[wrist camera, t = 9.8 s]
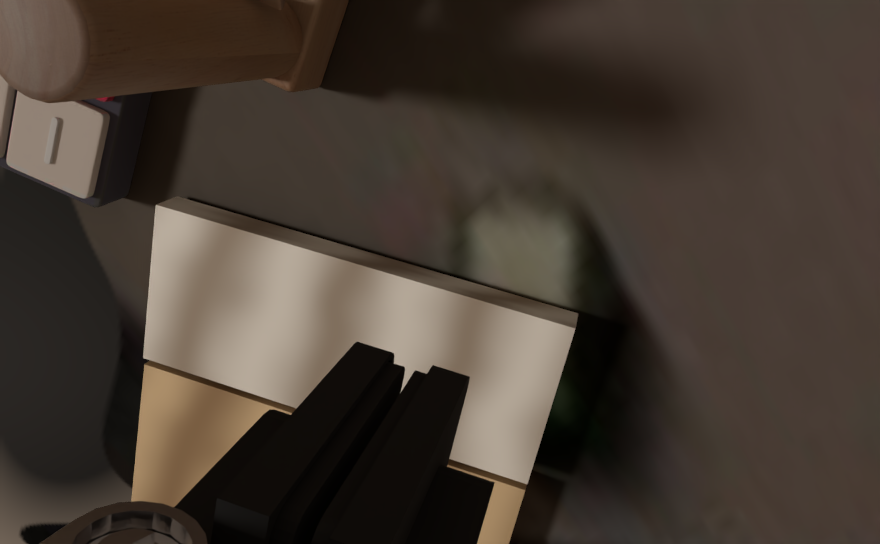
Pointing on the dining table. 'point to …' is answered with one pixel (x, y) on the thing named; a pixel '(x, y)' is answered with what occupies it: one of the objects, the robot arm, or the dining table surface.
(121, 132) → the calculator
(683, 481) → the dining table surface
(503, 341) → the ash plank
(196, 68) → the wooden block
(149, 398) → the oak board
